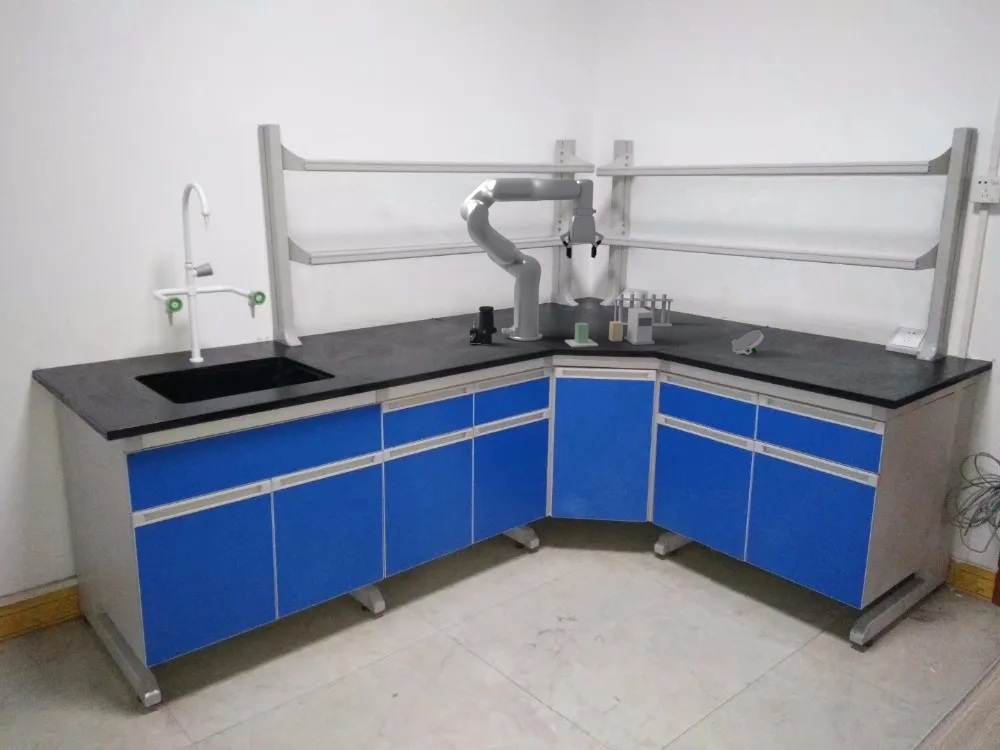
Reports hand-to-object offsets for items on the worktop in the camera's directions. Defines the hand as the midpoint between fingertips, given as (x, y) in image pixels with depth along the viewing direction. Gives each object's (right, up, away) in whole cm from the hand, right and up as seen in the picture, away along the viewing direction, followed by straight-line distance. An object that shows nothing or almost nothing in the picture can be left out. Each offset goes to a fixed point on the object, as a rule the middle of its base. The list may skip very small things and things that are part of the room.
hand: (581, 257), depth 298 cm
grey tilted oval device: (+57, -38, -22) cm, 72 cm away
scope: (-37, -34, -8) cm, 51 cm away
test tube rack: (+28, -24, +28) cm, 47 cm away
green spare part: (-1, -33, -8) cm, 34 cm away
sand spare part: (+13, -32, -1) cm, 34 cm away
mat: (-1, -34, -8) cm, 34 cm away
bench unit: (+22, -32, -4) cm, 39 cm away
